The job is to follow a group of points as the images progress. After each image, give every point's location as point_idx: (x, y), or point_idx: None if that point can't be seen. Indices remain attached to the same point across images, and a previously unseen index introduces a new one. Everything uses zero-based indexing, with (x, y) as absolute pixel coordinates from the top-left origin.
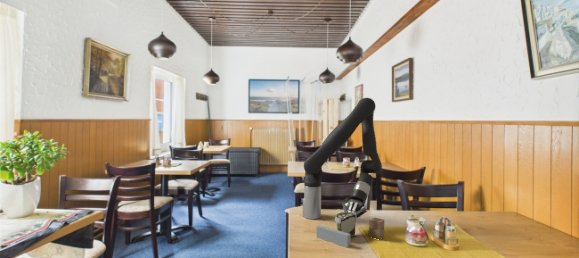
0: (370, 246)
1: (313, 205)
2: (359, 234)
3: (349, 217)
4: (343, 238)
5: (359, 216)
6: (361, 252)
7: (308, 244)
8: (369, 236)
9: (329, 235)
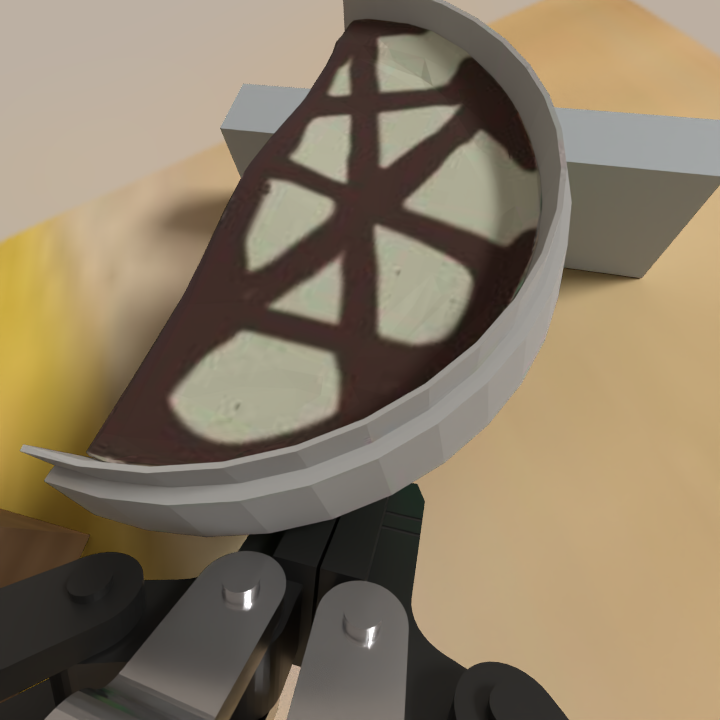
0: (83, 300)
1: None
2: None
3: (230, 220)
4: None
5: (24, 699)
6: (156, 171)
7: (593, 91)
8: (74, 532)
9: None
